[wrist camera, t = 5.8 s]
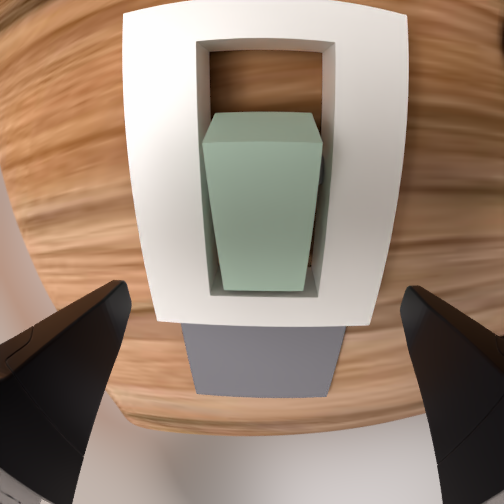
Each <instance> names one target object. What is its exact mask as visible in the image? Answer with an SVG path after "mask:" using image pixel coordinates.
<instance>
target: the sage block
mask: <svg viewBox="0 0 504 504" xmlns="http://www.w3.org/2000/svg"><path fill="white" fill-rule="evenodd" d="M202 146H203V154H204V162H205V169H206V176H207V184H208V191H209V198H210V205H211V212H212V218H213V225H214V231H215V238H216V244H217V251H218V257H219V263H220V269H221V275H222V281H223V287H224V290H239V291H303V290H304V284H305V278H306V271H307V265H308V258H309V252H310V245H311V238H312V231H313V223H314V216H315V208H316V200H317V192H318V184H319V175H320V166H321V156H322V147H323V142H322V139H321V137H320V134H319V131H318V129H317V126H316V123H315V121H314V118H313V115H312V113H302V112H227V113H215V114H214V117H213V119H212V121H211V123H210V126H209V128H208V130H207V133H206V135H205V137H204V140H203V142H202Z"/></svg>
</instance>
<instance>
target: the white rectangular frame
mask: <svg viewBox="0 0 504 504" xmlns="http://www.w3.org/2000/svg"><path fill="white" fill-rule="evenodd" d="M231 50H290V51H308V52H320V53H322V122H321V139H322V142H323V147H322V156H321V166H320V175H319V184H318V198H317V211H316V223H315V235H314V246H313V256H312V266H311V267H307V271H306V278H305V284H304V290H303V291H239V290H224V287H223V281H222V275H221V269H220V266H218V256H217V244H216V238H215V231H214V225H213V218H212V212H211V205H210V198H209V191H208V184H207V176H206V169H205V162H204V154H203V146H202V142H203V140H204V137H205V135H206V133H207V130H208V128H209V126H210V123H211V113H210V62H209V52H214V51H231ZM408 80H409V52H408V26H407V15H404V14H400V13H396V12H392V11H388V10H383V9H379V8H374V7H369V6H364V5H359V4H353V3H347V2H340V1H333V0H192V1H184V2H178V3H171V4H166V5H160V6H155V7H150V8H145V9H141V10H137V11H132V12H128V13H124V14H123V94H124V113H125V127H126V139H127V150H128V160H129V168H130V177H131V185H132V192H133V199H134V206H135V213H136V219H137V225H138V231H139V237H140V242H141V248H142V253H143V258H144V263H145V268H146V273H147V278H148V282H149V287H150V291H151V296H152V300H153V304H154V309H155V313H156V317H157V321H163V322H177V323H192V324H209V325H232V326H268V327H325V326H361V325H369V324H370V321H371V317H372V314H373V310H374V307H375V303H376V299H377V296H378V292H379V288H380V284H381V280H382V276H383V272H384V268H385V263H386V259H387V254H388V250H389V245H390V240H391V235H392V230H393V224H394V219H395V213H396V207H397V201H398V195H399V188H400V181H401V174H402V166H403V157H404V147H405V137H406V124H407V108H408Z"/></svg>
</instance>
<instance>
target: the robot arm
mask: <svg viewBox="0 0 504 504" xmlns="http://www.w3.org/2000/svg"><path fill="white" fill-rule="evenodd" d="M131 306H132V303H131V298H130V295H129V291H128V287H127V284H126V282H125V281H122V280H113V281H111V282H109V283H107V284H105V285H104V286H102V287H100V288H98V289H96V290H95V291H93V292H91V293H89V294H87V295H86V296H84V297H82V298H80V299H78V300H77V301H75V302H73V303H71V304H70V305H68V306H66V307H64V308H63V309H61V310H59V311H58V312H56V313H54V314H52V315H51V316H49V317H47V318H46V319H44V320H42V321H40V322H39V323H37V324H35V325H34V327H33V326H32V327H30V328H29V329H27V330H25V331H24V332H22V333H20V334H19V335H17V336H15V337H13V338H11V339H9V340H8V341H6V342H4V343H2V344H0V504H40V502H41V499H43V500H45V501H47V502H49V503H51V504H72V502H73V498H74V494H75V489H76V485H77V481H78V477H79V473H80V470H81V466H82V462H83V459H84V457H83V456H84V454H85V451H86V447H87V444H88V440H89V437H90V434H91V431H92V427H93V424H94V421H95V418H96V415H97V411H98V408H99V405H100V402H101V399H102V396H103V394H104V391H105V388H106V385H107V382H108V379H109V377H110V374H111V371H112V368H113V366H114V363H115V360H116V358H117V355H118V352H119V349H120V347H121V343H122V340H123V336H124V332H125V329H126V325H127V321H128V318H129V314H130V311H131ZM400 314H401V318H402V323H403V327H404V332H405V336H406V341H407V346H408V350H409V354H410V357H411V361H412V364H413V367H414V371H415V374H416V377H417V381H418V384H419V388H420V392H421V395H422V399H423V403H424V407H425V411H426V415H427V419H428V423H429V428H430V432H431V436H432V441H433V446H434V451H435V456H436V461H437V464H438V465H437V468H438V474H439V479H440V486H441V493H442V500H443V504H504V337H501V338H500V337H499V336H497V335H496V336H495V334H494V333H493V332H491V331H490V330H488V329H487V328H485V327H484V326H482V325H481V324H479V323H478V322H476V321H475V320H473V319H471V318H470V317H468V316H467V315H465V314H464V313H462V312H461V311H459V310H458V309H456V308H454V307H453V306H451V305H450V304H448V303H447V302H445V301H443V300H442V299H440V298H439V297H437V296H435V295H434V294H432V293H431V292H429V291H427V290H426V289H424V288H422V287H421V286H418V285H417V286H408V287H407V288H406V291H405V294H404V297H403V300H402V303H401V307H400Z"/></svg>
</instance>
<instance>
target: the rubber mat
mask: <svg viewBox="0 0 504 504" xmlns="http://www.w3.org/2000/svg"><path fill="white" fill-rule="evenodd" d="M181 326H182V331H183V336H184V341H185V346H186V350H187V355H188V359H189V364H190V368H191V372H192V377H193V381H194V385H195V389H196V393H197V394H204V395H217V396H232V397H256V398H307V397H327V394H328V390H329V387H330V384H331V381H332V377H333V374H334V370H335V367H336V363H337V360H338V356H339V352H340V349H341V345H342V341H343V337H344V333H345V329H346V326H325V327H268V326H232V325H209V324H192V323H181Z"/></svg>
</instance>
